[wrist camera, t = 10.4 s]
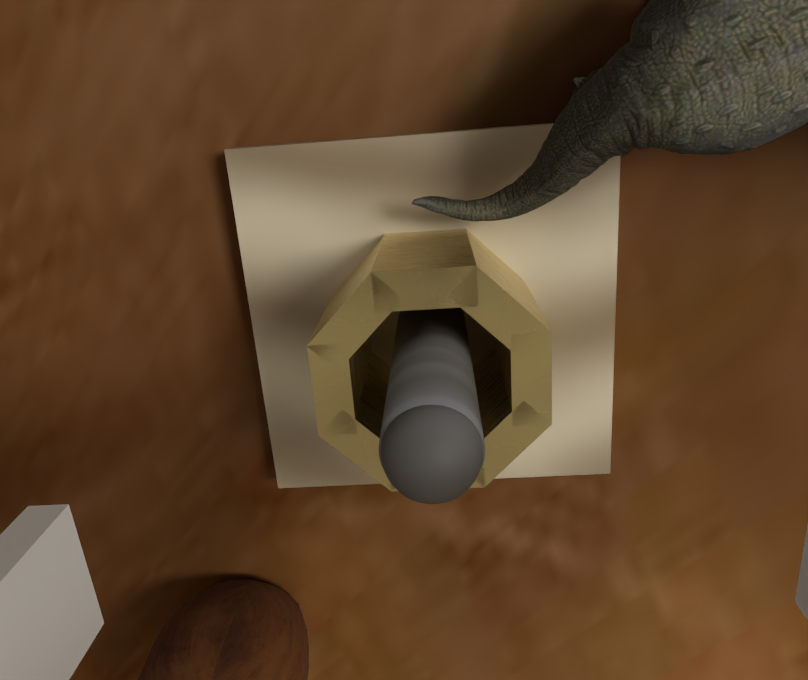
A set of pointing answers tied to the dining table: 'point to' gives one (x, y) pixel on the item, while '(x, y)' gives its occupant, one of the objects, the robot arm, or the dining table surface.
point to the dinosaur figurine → (669, 97)
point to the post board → (376, 199)
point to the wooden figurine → (232, 636)
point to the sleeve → (419, 290)
